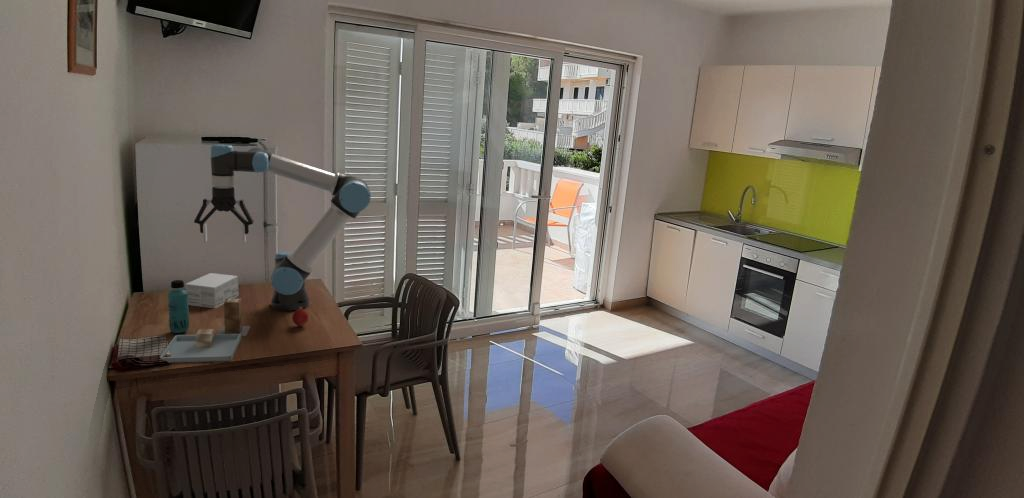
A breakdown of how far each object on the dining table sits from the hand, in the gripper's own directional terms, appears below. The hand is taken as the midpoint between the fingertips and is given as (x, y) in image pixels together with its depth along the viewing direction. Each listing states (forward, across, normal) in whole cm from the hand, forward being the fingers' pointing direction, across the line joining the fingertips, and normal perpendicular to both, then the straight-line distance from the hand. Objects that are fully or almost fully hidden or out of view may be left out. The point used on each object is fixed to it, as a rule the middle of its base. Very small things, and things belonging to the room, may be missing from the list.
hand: (225, 241), depth 227 cm
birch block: (+30, +2, +28) cm, 41 cm away
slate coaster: (+31, -5, +16) cm, 35 cm away
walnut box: (+30, -5, +16) cm, 34 cm away
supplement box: (+31, +10, -21) cm, 39 cm away
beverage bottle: (+31, +13, +16) cm, 37 cm away
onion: (+31, -28, +11) cm, 43 cm away
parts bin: (+31, +2, +32) cm, 44 cm away
